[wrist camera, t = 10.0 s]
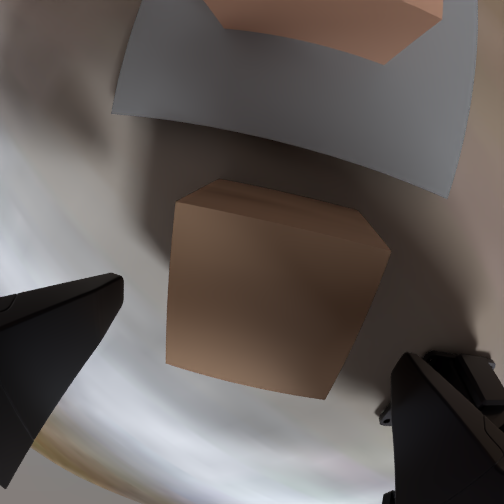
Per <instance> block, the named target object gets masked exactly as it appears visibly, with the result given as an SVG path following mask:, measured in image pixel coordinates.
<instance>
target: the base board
mask: <svg viewBox="0 0 504 504" xmlns="http://www.w3.org/2000/svg"><path fill="white" fill-rule="evenodd" d="M477 34H478V2H477V0H443V15H442V20H441V21H440V22H438V23H437V24H436V25H434V26H433V27H432V28H430V29H429V30H428V31H426V32H425V33H424V34H423V35H421V36H420V37H419V38H417V39H416V40H415V41H413V42H412V43H411V44H410V45H408V46H407V47H406V48H405V49H403V50H402V51H401V52H400V53H398V54H397V55H396V56H395V57H393V58H392V59H391V60H390V61H388V62H387V63H386V64H385V65H382V64H380V63H377V62H374V61H371V60H368V59H365V58H363V57H360V56H356V55H353V54H350V53H347V52H344V51H340V50H337V49H333V48H330V47H326V46H322V45H318V44H314V43H310V42H306V41H301V40H297V39H292V38H287V37H282V36H276V35H271V34H264V33H258V32H251V31H243V30H234V29H224V28H223V26H222V25H221V24H220V22H219V21H218V19H217V18H216V17H215V15H214V14H213V13H212V11H211V10H210V8H209V7H208V6H207V4H206V3H205V2H204V1H203V0H142V2H141V5H140V8H139V11H138V14H137V16H136V19H135V22H134V25H133V28H132V32H131V35H130V38H129V41H128V45H127V48H126V52H125V55H124V59H123V63H122V67H121V71H120V75H119V79H118V83H117V88H116V92H115V97H114V102H113V107H112V112H111V114H119V115H130V116H140V117H148V118H157V119H164V120H171V121H178V122H185V123H191V124H197V125H203V126H209V127H214V128H220V129H225V130H230V131H235V132H240V133H244V134H249V135H253V136H258V137H262V138H266V139H270V140H275V141H279V142H283V143H287V144H290V145H294V146H298V147H302V148H305V149H309V150H312V151H316V152H319V153H323V154H326V155H329V156H333V157H336V158H339V159H342V160H345V161H349V162H352V163H355V164H358V165H361V166H364V167H367V168H370V169H372V170H375V171H378V172H381V173H384V174H386V175H389V176H392V177H394V178H397V179H400V180H402V181H405V182H407V183H410V184H412V185H415V186H417V187H420V188H422V189H425V190H427V191H430V192H432V193H434V194H437V195H439V196H441V197H443V198H446V199H448V196H449V192H450V189H451V186H452V182H453V179H454V176H455V172H456V168H457V165H458V161H459V157H460V153H461V149H462V144H463V140H464V136H465V131H466V126H467V121H468V116H469V110H470V104H471V98H472V91H473V83H474V75H475V65H476V53H477Z"/></svg>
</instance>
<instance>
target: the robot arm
mask: <svg viewBox="0 0 504 504" xmlns="http://www.w3.org/2000/svg"><path fill="white" fill-rule="evenodd" d="M123 300H124V280H123V277H122V276H120V275H117V274H114V273H107V274H103V275H98V276H93V277H89V278H84V279H80V280H75V281H71V282H66V283H62V284H57V285H53V286H48V287H44V288H39V289H35V290H31V291H26V292H22V293H18V294H13V295H8V296H4V297H0V485H1V486H2V487H3V488H4V489H6V488H7V487H8V485H9V483H10V481H11V479H12V477H13V476H14V474H15V472H16V471H17V469H18V467H19V465H20V464H21V462H22V460H23V458H24V457H25V455H26V453H27V452H28V450H29V448H30V447H31V445H32V443H33V442H34V440H33V439H35V438H36V436H37V435H38V433H39V432H40V430H41V428H42V427H43V425H44V424H45V422H46V420H47V419H48V417H49V416H50V414H51V413H52V411H53V410H54V408H55V407H56V405H57V404H58V402H59V401H60V399H61V398H62V396H63V395H64V393H65V392H66V390H67V389H68V387H69V386H70V384H71V383H72V381H73V380H74V379H75V377H76V376H77V374H78V373H79V371H80V370H81V369H82V367H83V366H84V364H85V363H86V361H87V360H88V359H89V357H90V356H91V355H92V353H93V352H94V350H95V349H96V348H97V346H98V345H99V343H100V342H101V340H102V339H103V337H104V335H105V334H106V332H107V330H108V329H109V327H110V325H111V323H112V322H113V320H114V318H115V316H116V315H117V313H118V311H119V310H120V308H121V306H122V304H123ZM431 359H432V360H431ZM494 368H495V363H494V361H493V360H492V359H486V358H485V357H479V356H472V355H466V354H451V353H445V352H439V351H430V352H428V353H426V354H425V355H424V357H423V358H421V357H420V356H418V355H417V354H415V353H410V352H406V353H404V354H403V355H402V357H401V358H400V360H399V361H398V363H397V364H396V366H395V368H394V369H393V371H392V373H391V403H390V404H389V406H388V407H387V408H386V409H385V411H384V412H383V413H382V414H381V415H380V417H379V422H380V424H381V425H384V426H392V432H393V446H394V463H395V491H394V490H392V491H390V492H388V493H385V494H384V495H383V501H382V504H504V387H503V386H502V384H501V382H500V380H499V379H498V377H497V375H496V374H495V372H494V371H493V370H494Z"/></svg>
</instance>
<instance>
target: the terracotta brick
mask: <svg viewBox="0 0 504 504" xmlns="http://www.w3.org/2000/svg"><path fill="white" fill-rule="evenodd" d="M203 1H204V2H205V3H206V4H207V6H208V7H209V8H210V10H211V11H212V13H213V14H214V15H215V17H216V18H217V19H218V21H219V22H220V24H221V25H222V26H223V28H224V29H234V30H243V31H251V32H258V33H264V34H271V35H276V36H282V37H287V38H292V39H297V40H301V41H306V42H310V43H314V44H318V45H322V46H326V47H330V48H333V49H337V50H340V51H344V52H347V53H350V54H353V55H356V56H360V57H363V58H365V59H368V60H371V61H374V62H377V63H380V64H382V65H385V64H386V63H387V62H388V61H390V60H391V59H392V58H393V57H395V56H396V55H397V54H398V53H400V52H401V51H402V50H403V49H405V48H406V47H407V46H408V45H410V44H411V43H412V42H413V41H415V40H416V39H417V38H419V37H420V36H421V35H423V34H424V33H425V32H426V31H428V30H429V29H430V28H432V27H433V26H434V25H436V24H437V23H438V22H440V21H441V20H442V15H443V0H203Z"/></svg>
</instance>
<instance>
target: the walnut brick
mask: <svg viewBox="0 0 504 504" xmlns="http://www.w3.org/2000/svg"><path fill="white" fill-rule="evenodd" d="M390 254H391V250H390V249H389V247H388V246H387V245H386V244H385V242H384V241H383V240H382V239H381V238H380V236H379V235H378V234H377V233H376V231H375V230H374V229H373V228H372V227H371V225H370V224H369V223H368V222H367V221H366V219H365V218H364V217H363V216H362V215H361V214H360V212H359V211H358V210H355V209H351V208H347V207H343V206H339V205H335V204H332V203H328V202H324V201H320V200H316V199H311V198H307V197H303V196H299V195H294V194H290V193H286V192H281V191H277V190H272V189H268V188H263V187H258V186H254V185H249V184H244V183H239V182H234V181H229V180H223V179H218V180H216V181H214V182H212V183H210V184H208V185H206V186H204V187H202V188H200V189H198V190H197V191H195V192H193V193H191V194H189V195H187V196H185V197H184V198H182V199H180V200H178V201H176V204H175V213H174V222H173V232H172V243H171V255H170V268H169V283H168V301H167V326H166V364H169V365H172V366H176V367H179V368H182V369H185V370H189V371H192V372H196V373H199V374H203V375H206V376H210V377H214V378H218V379H221V380H225V381H229V382H234V383H238V384H242V385H246V386H251V387H255V388H260V389H265V390H270V391H275V392H280V393H285V394H291V395H297V396H303V397H309V398H316V399H323V400H325V399H326V397H327V395H328V393H329V391H330V390H331V388H332V386H333V384H334V382H335V380H336V378H337V376H338V374H339V373H340V371H341V369H342V367H343V365H344V363H345V361H346V359H347V357H348V355H349V353H350V350H351V348H352V346H353V344H354V342H355V340H356V338H357V336H358V333H359V331H360V329H361V327H362V324H363V322H364V320H365V318H366V315H367V313H368V311H369V308H370V306H371V304H372V301H373V299H374V296H375V294H376V291H377V289H378V286H379V284H380V281H381V278H382V276H383V273H384V271H385V268H386V265H387V262H388V260H389V257H390Z"/></svg>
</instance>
